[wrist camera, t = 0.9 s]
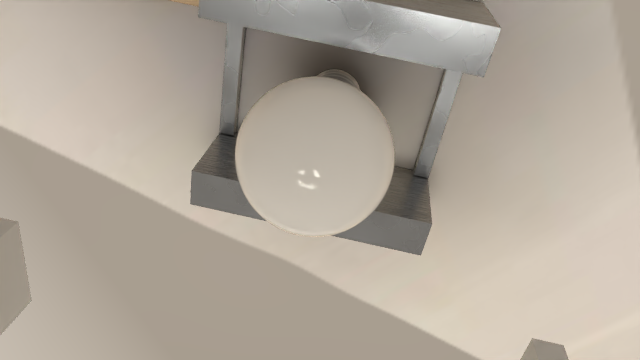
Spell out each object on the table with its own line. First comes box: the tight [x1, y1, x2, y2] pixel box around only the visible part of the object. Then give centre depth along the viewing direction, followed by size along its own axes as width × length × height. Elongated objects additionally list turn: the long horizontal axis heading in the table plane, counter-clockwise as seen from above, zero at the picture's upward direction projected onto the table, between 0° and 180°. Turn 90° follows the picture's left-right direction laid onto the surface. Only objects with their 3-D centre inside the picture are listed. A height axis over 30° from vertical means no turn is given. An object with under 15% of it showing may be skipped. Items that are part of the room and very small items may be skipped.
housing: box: [190, 0, 501, 255], centre depth 25 cm, size 12×12×5 cm
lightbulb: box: [235, 69, 395, 237], centre depth 22 cm, size 6×6×11 cm
